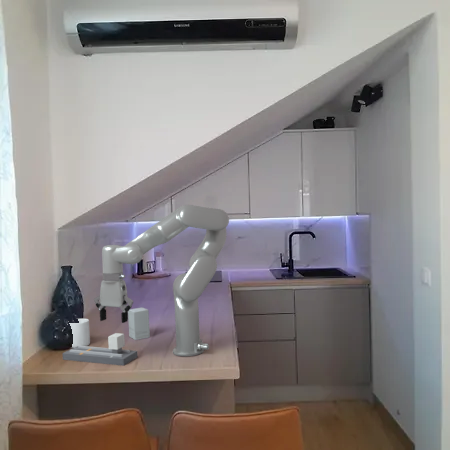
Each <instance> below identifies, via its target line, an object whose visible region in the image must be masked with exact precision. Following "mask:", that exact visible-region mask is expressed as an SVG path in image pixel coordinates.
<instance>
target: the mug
mask: <svg viewBox="0 0 450 450" xmlns="http://www.w3.org/2000/svg"><path fill="white" fill-rule="evenodd" d="M77 319H78V321H79V323H69V324H70V326H71V329H72V334H73V344H72V347H71V349H73V348H75V347H77V346H89V345H90V344H91V337H90V336H91V335H90V319H88V318H77Z"/></svg>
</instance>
